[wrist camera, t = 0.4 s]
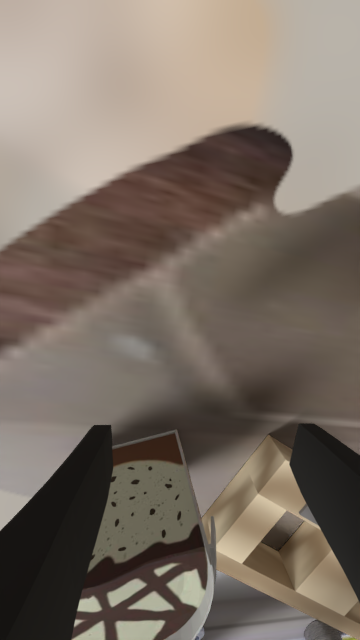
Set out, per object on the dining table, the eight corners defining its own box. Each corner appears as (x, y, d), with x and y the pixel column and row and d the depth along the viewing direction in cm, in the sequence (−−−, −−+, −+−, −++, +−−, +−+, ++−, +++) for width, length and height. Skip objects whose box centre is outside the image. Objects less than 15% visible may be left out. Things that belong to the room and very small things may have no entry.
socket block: (372, 616, 26) (401, 663, 23) (196, 524, 22) (202, 565, 19) (440, 544, 25) (480, 582, 22) (268, 434, 21) (287, 461, 18)
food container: (75, 519, 21) (-3, 732, 11) (52, 461, 20) (-56, 640, 10) (208, 483, 21) (247, 658, 11) (193, 424, 20) (223, 561, 10)
